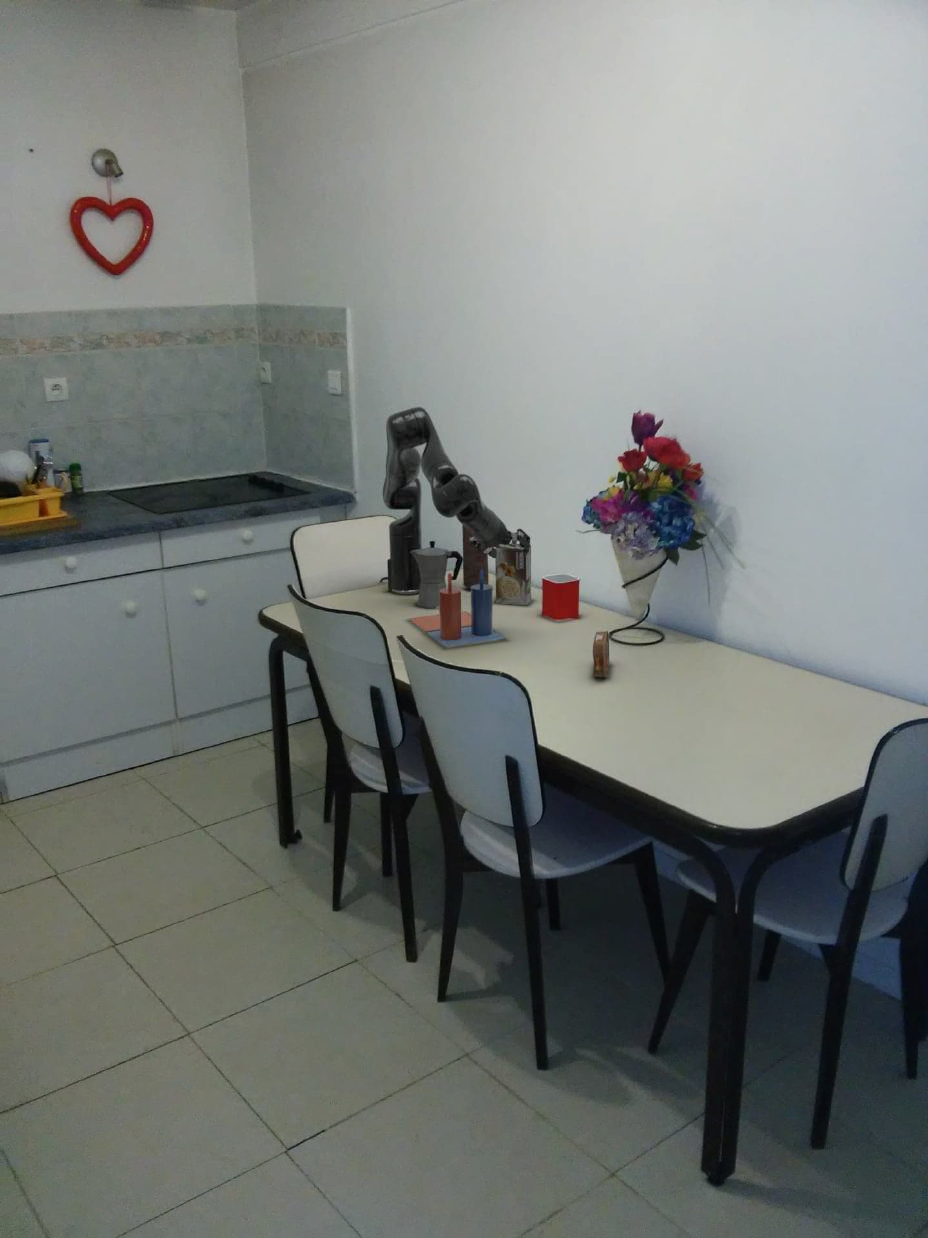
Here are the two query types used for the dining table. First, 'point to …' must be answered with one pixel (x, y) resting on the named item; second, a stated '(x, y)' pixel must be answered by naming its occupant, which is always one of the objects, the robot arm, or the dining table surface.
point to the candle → (473, 563)
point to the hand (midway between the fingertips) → (510, 553)
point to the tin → (601, 654)
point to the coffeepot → (434, 572)
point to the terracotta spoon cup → (450, 612)
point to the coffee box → (513, 576)
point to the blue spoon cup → (481, 608)
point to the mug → (560, 596)
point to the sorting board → (433, 628)
